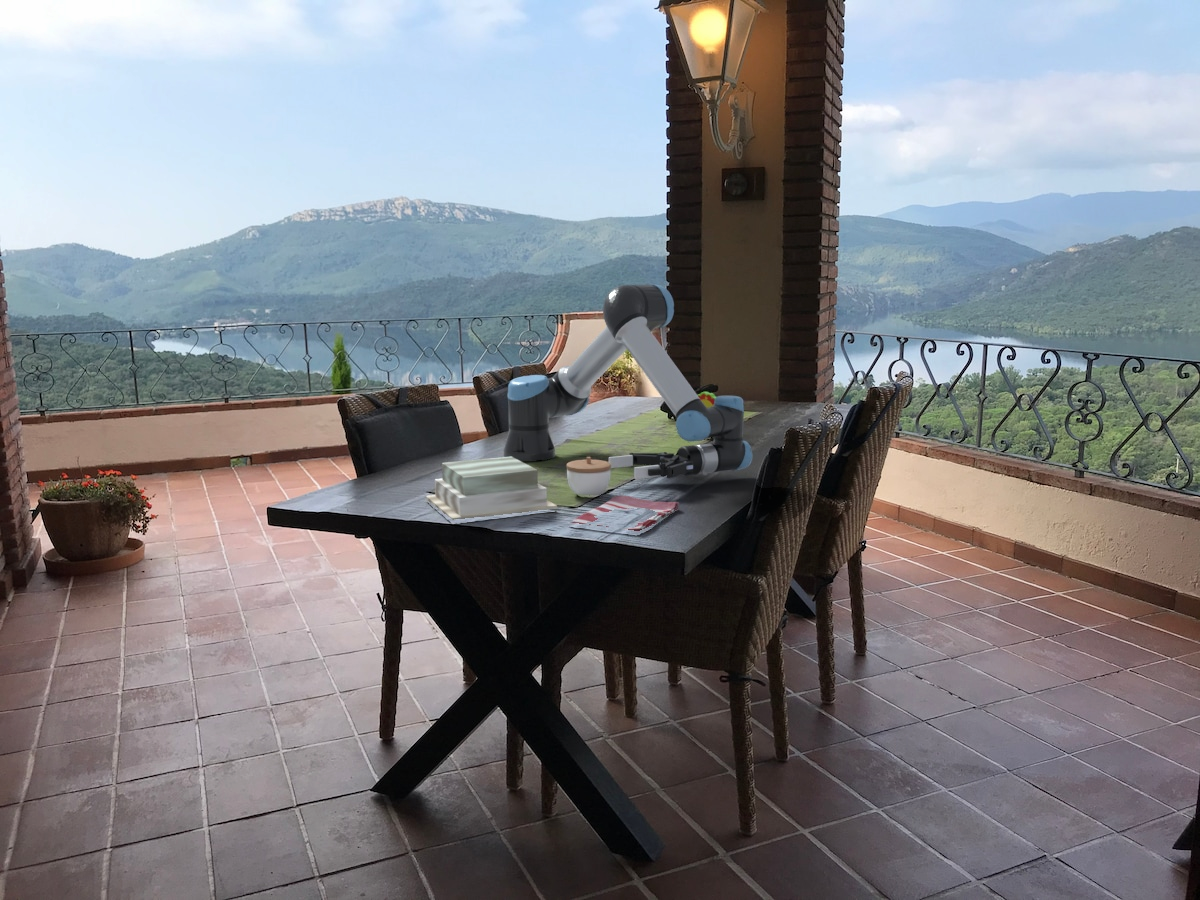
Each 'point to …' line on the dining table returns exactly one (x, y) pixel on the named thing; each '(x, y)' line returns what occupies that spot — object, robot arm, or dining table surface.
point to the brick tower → (488, 488)
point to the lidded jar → (588, 476)
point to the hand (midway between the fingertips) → (621, 467)
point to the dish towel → (630, 502)
